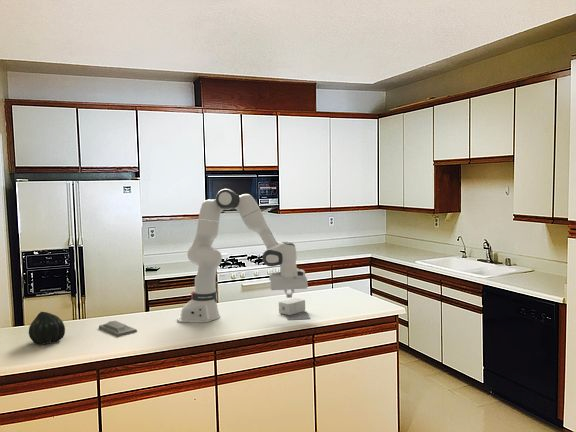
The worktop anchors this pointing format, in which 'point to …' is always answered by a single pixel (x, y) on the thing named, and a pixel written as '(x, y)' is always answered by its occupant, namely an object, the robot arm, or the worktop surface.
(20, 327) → the worktop surface
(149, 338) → the worktop surface
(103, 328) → the soap mold
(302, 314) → the mat
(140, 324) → the worktop surface
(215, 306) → the robot arm
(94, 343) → the worktop surface
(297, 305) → the small box
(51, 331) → the squash
